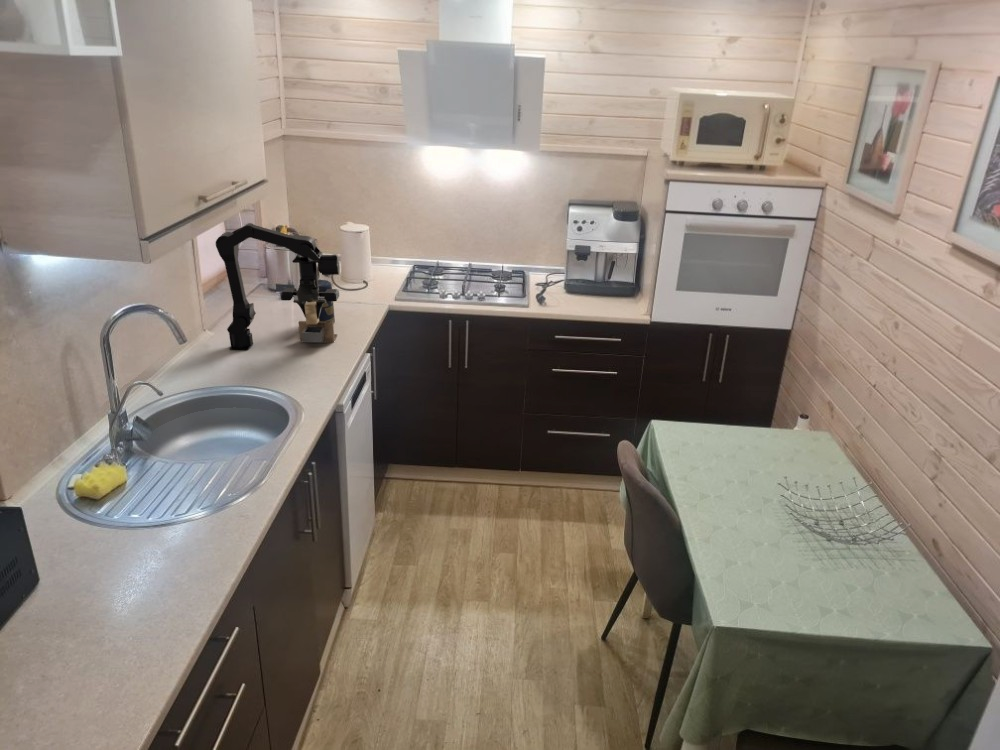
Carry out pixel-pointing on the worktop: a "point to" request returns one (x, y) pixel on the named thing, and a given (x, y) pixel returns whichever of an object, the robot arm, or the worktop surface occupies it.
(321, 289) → the canister
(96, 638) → the worktop surface
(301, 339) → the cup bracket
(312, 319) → the rail end
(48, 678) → the worktop surface
